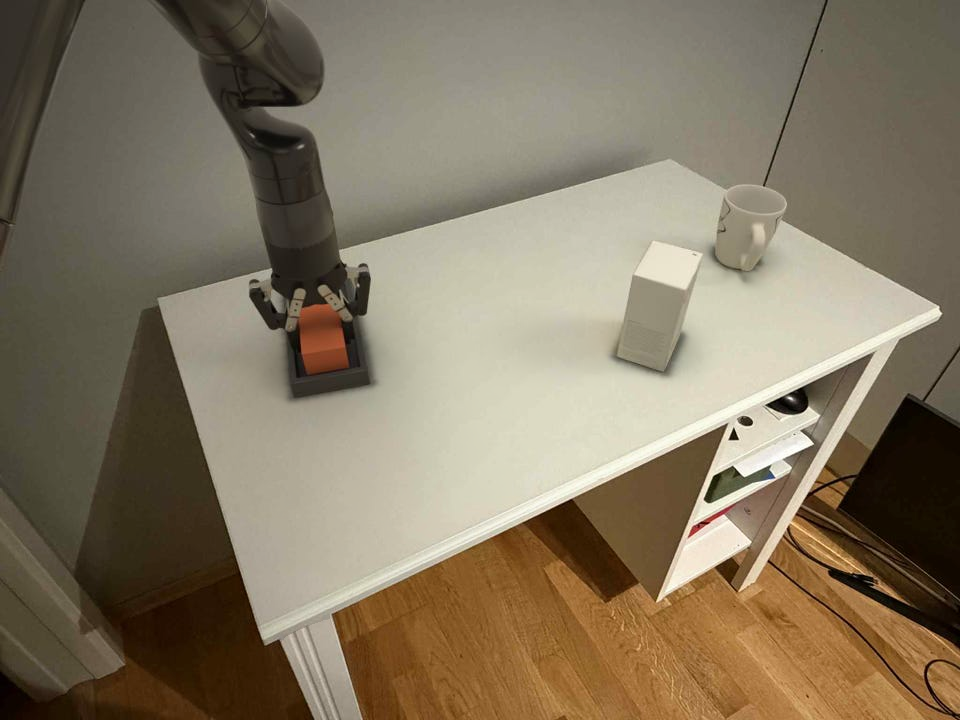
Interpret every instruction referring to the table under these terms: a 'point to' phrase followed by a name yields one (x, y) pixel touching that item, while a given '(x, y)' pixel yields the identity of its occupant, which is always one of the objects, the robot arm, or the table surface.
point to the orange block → (322, 339)
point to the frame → (331, 379)
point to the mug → (747, 224)
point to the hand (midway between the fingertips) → (324, 343)
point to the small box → (658, 304)
